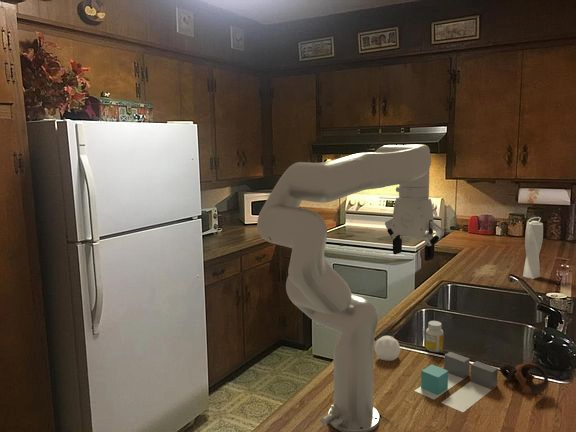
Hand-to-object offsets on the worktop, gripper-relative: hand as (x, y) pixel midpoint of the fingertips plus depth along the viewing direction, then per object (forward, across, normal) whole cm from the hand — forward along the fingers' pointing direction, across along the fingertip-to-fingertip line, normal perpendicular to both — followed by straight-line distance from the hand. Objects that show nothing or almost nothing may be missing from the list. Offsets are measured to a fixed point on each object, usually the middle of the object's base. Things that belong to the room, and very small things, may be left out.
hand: (412, 256), depth 127 cm
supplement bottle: (+37, -6, +22) cm, 43 cm away
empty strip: (+37, +15, +5) cm, 40 cm away
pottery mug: (+37, +22, +20) cm, 48 cm away
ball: (+37, -13, +7) cm, 40 cm away
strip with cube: (+37, +7, +5) cm, 38 cm away
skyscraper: (+37, -14, +122) cm, 128 cm away
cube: (+36, +7, +1) cm, 36 cm away
